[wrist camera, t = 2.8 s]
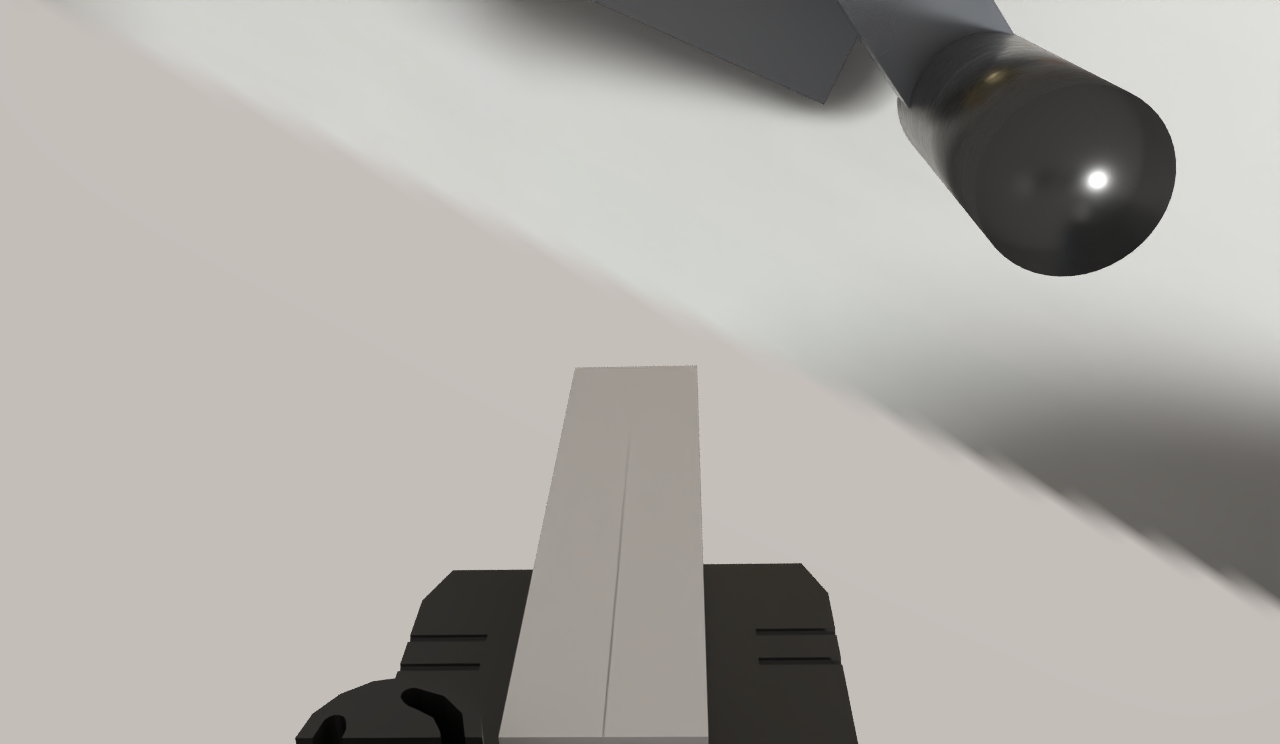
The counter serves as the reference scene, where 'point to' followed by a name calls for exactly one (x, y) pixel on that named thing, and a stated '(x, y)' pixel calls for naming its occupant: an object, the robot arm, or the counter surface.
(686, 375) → the robot arm
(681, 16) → the base
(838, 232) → the counter surface
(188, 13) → the counter surface
